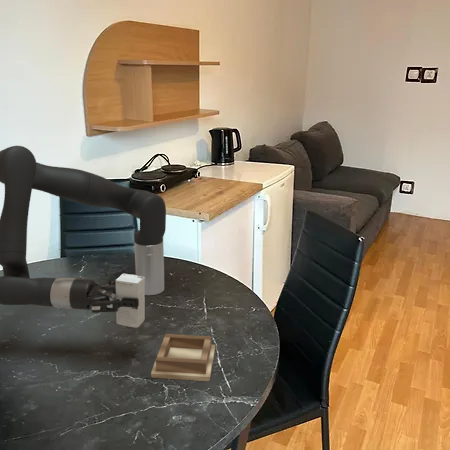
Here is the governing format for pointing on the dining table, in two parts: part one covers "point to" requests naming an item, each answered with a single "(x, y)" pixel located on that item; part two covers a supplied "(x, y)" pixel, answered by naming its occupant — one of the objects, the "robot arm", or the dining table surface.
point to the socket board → (184, 358)
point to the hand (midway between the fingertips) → (141, 297)
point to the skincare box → (132, 289)
